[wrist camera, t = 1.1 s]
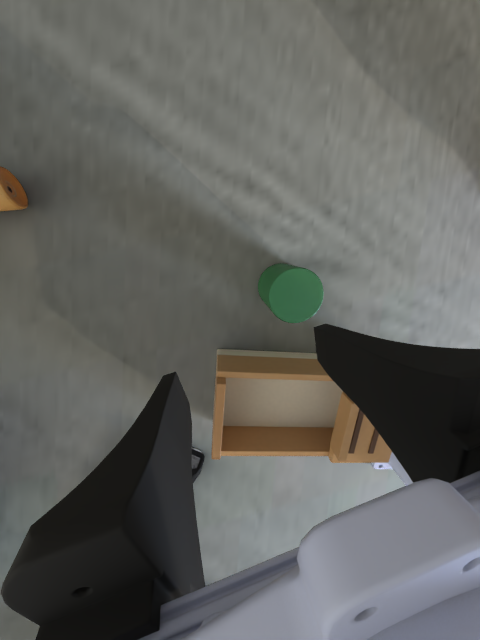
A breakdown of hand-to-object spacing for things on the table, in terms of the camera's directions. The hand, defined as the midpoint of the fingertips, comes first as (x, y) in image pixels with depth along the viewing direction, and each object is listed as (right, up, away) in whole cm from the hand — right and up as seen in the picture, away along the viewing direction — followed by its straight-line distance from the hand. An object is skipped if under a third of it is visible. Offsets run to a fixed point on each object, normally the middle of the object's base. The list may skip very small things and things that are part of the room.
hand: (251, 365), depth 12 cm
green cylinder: (+3, +6, +12) cm, 14 cm away
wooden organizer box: (+5, -6, +16) cm, 17 cm away
